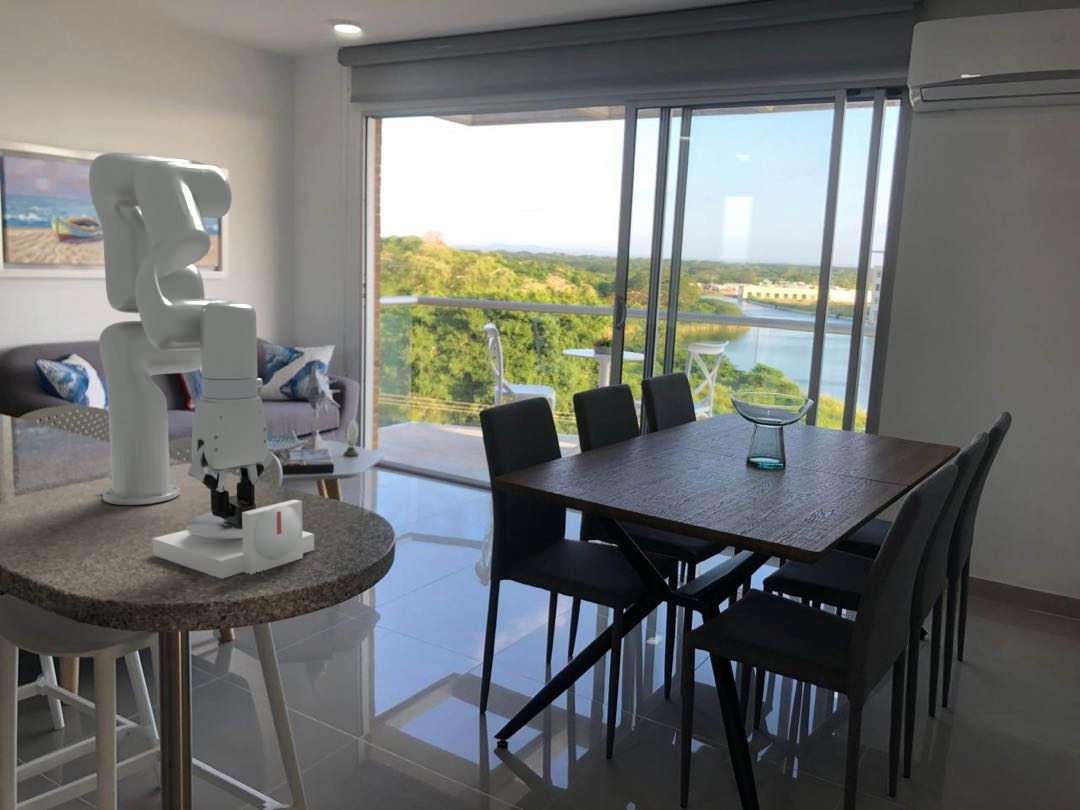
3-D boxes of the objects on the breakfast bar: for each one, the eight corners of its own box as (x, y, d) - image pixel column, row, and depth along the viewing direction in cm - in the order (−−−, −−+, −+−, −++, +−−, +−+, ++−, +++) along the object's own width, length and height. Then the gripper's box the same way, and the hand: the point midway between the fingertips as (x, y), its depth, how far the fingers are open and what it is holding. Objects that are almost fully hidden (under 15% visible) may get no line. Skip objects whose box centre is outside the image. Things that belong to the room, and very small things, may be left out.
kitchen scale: (153, 555, 127) (150, 496, 126) (246, 530, 140) (244, 476, 139) (231, 582, 117) (230, 518, 115) (324, 552, 130) (323, 495, 128)
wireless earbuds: (242, 531, 124) (241, 508, 123) (219, 519, 129) (219, 497, 128) (272, 525, 127) (272, 503, 126) (249, 513, 132) (249, 492, 131)
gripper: (261, 381, 134) (263, 497, 137) (161, 392, 121) (166, 521, 124) (293, 386, 130) (295, 506, 133) (194, 398, 117) (198, 531, 119)
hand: (233, 512), depth 128 cm, fingers open, 3 cm apart
